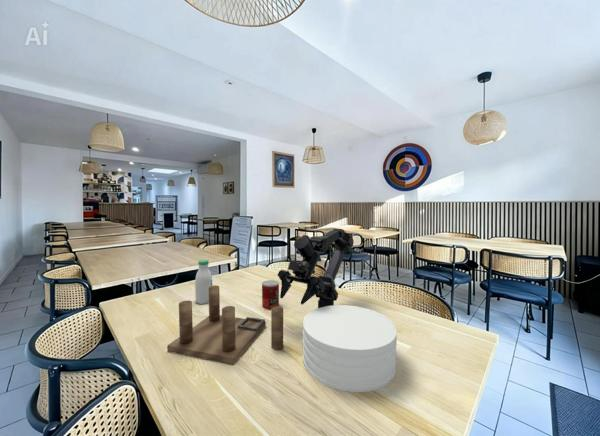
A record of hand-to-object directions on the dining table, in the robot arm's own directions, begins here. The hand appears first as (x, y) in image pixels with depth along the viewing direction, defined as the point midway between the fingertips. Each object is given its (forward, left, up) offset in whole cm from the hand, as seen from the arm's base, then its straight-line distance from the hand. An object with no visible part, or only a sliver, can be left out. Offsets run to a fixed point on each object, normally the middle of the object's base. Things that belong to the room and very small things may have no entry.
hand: (290, 301), depth 92 cm
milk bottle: (+47, -25, -13) cm, 55 cm away
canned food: (+14, -25, -13) cm, 32 cm away
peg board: (+24, +5, -13) cm, 28 cm away
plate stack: (-20, +10, -14) cm, 26 cm away
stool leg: (+3, +7, -13) cm, 15 cm away
